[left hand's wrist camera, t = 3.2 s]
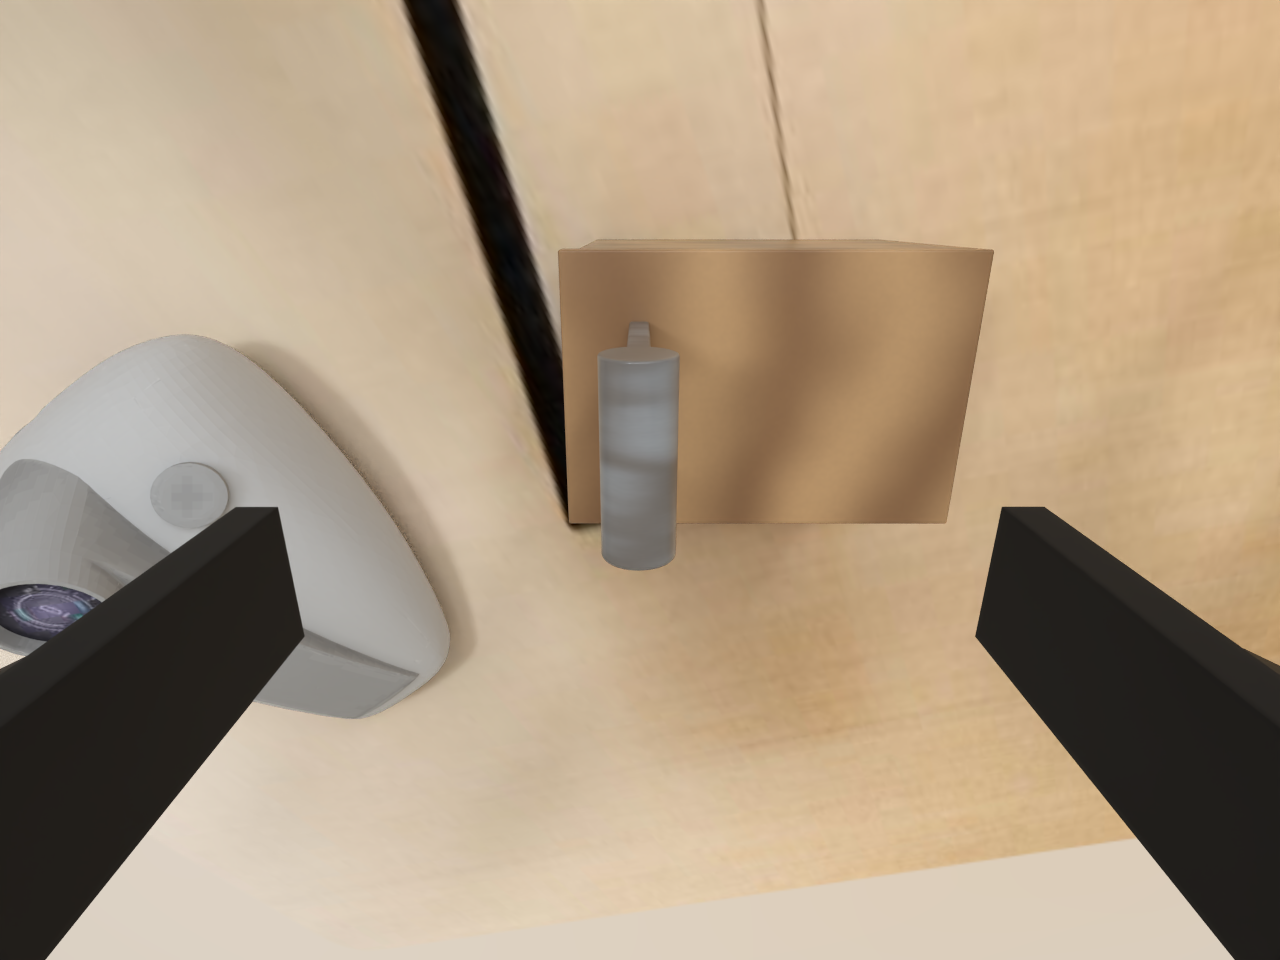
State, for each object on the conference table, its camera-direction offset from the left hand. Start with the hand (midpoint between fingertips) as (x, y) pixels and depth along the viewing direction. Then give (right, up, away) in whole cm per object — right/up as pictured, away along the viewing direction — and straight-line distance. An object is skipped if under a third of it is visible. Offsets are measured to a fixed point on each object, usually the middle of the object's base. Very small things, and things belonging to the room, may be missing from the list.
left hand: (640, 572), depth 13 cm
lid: (+5, +5, +13) cm, 15 cm away
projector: (-21, -1, +28) cm, 35 cm away
